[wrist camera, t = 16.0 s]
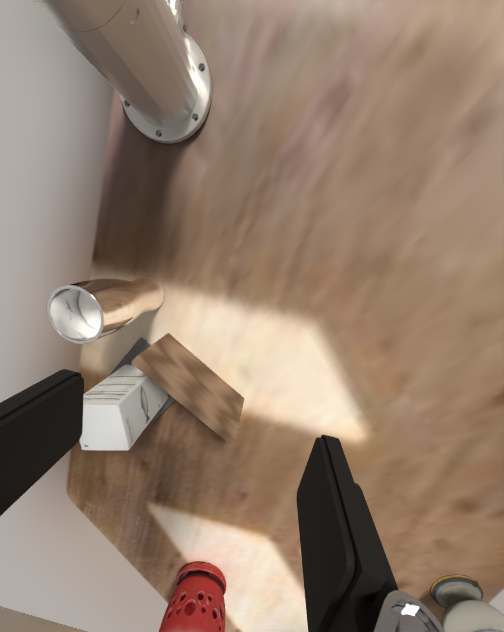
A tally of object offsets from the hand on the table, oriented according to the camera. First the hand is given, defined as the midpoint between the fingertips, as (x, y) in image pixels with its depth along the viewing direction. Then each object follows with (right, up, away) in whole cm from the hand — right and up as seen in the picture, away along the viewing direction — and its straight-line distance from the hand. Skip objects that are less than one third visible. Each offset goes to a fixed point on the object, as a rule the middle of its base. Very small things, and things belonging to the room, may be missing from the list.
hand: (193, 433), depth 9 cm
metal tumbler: (-15, +8, +31) cm, 36 cm away
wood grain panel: (-6, -5, +33) cm, 34 cm away
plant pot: (-9, -57, +47) cm, 75 cm away
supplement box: (-17, -7, +35) cm, 39 cm away
